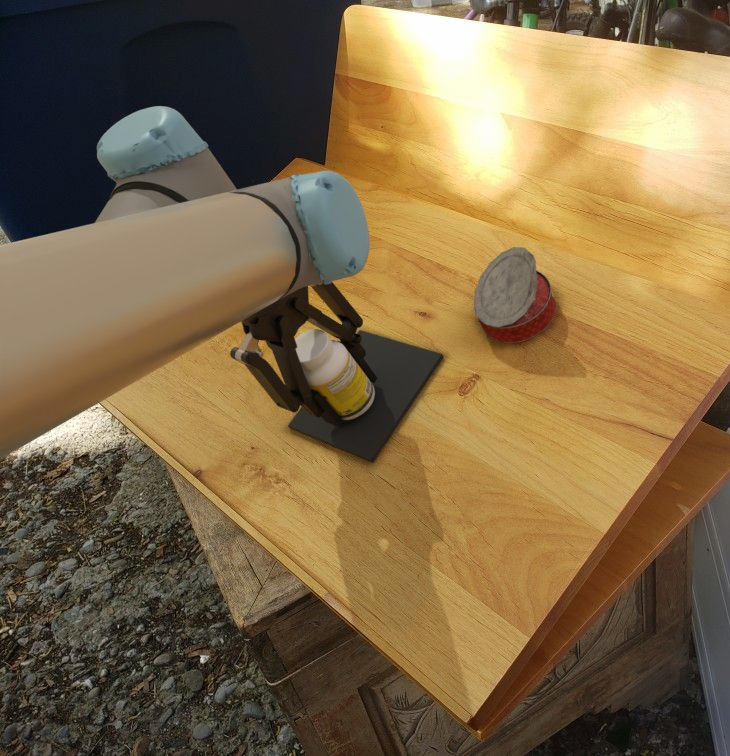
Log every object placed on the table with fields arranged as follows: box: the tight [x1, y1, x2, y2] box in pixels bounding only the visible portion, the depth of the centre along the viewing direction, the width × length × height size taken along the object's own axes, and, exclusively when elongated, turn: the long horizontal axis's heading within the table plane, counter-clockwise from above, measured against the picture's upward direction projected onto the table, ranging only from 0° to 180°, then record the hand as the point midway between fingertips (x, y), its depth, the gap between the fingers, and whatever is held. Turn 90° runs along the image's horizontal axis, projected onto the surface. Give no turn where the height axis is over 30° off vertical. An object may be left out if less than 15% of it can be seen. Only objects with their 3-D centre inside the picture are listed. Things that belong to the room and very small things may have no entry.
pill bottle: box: [295, 328, 375, 420], centre depth 79 cm, size 6×6×11 cm
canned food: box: [473, 246, 557, 344], centre depth 83 cm, size 11×10×10 cm
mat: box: [287, 329, 444, 463], centre depth 85 cm, size 16×14×1 cm
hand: (351, 399), depth 83 cm, fingers closed on pill bottle, 6 cm apart
